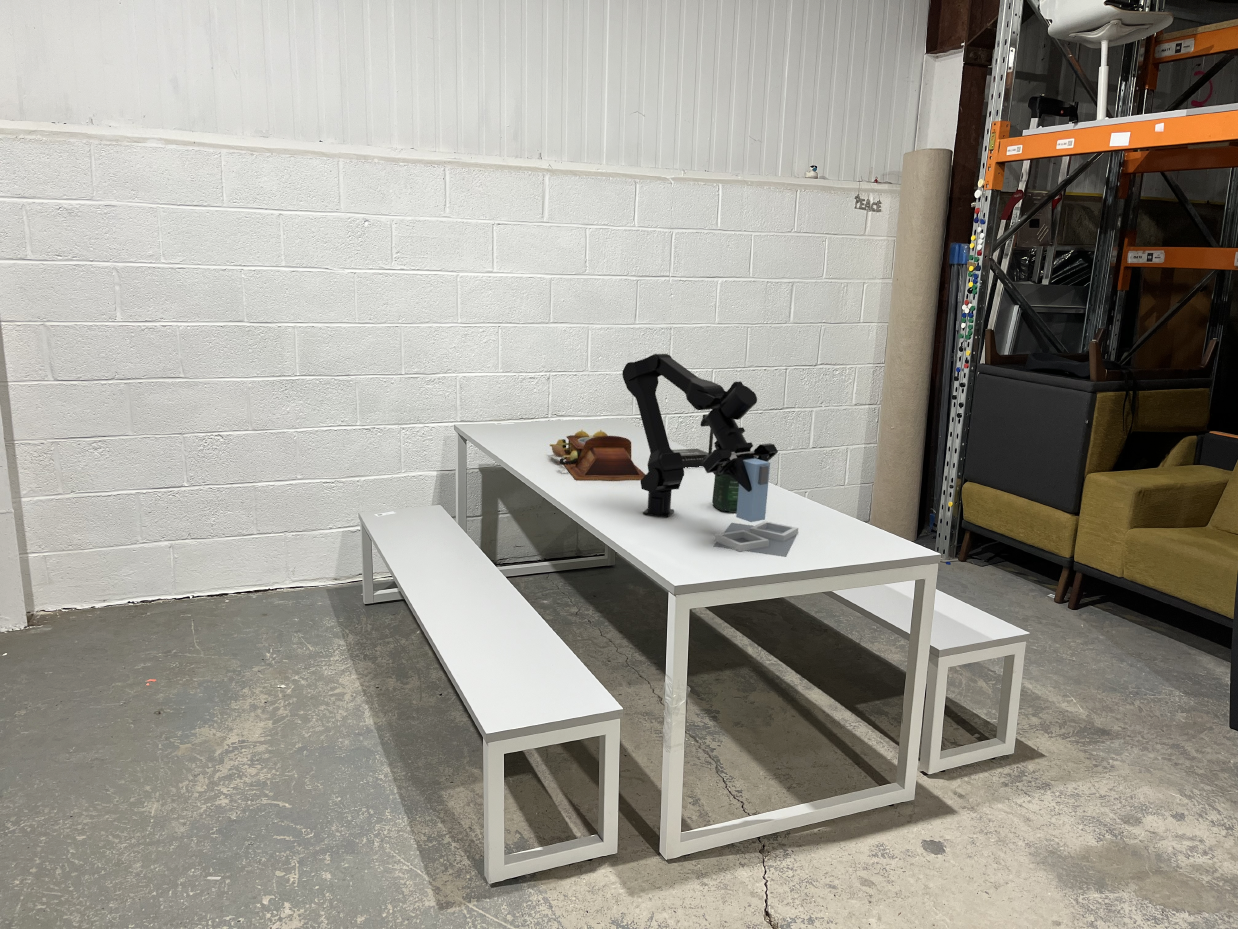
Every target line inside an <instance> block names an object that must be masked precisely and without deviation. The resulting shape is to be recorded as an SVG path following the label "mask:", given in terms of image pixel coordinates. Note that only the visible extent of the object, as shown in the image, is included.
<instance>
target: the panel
mask: <svg viewBox="0 0 1238 929" xmlns="http://www.w3.org/2000/svg"><path fill="white" fill-rule="evenodd" d="M797 535H799V527H796V526H792V525H787V524H782V523H778V522H772V521H767V520H762V522H759V523H758V524H755V525H752V524H751V525H750V524H744V523H737V522H731V523H730V524H729V525H728V526H727V528H726V529H725V530H724V532H723V533H722V532H721V533H715V534H714V541H713V542H715V543H714V544H713V545H712V546H713V547H715V548H720V549H721V548H722V549H729V550H735V551H737V552H749V553H756V554H763V555H770V556H777V557H783V558H786V557H787V556H788V554H789V552H790V550H791V548H792V546H793V544H794V542H795V540H796V538H797Z"/></svg>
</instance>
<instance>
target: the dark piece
mask: <svg viewBox="0 0 1238 929" xmlns="http://www.w3.org/2000/svg"><path fill="white" fill-rule="evenodd" d="M713 439H714V434H713V432H712V430H711V428H710V430H709V439H708V441H709V442H708V451H704V450H701V449H699V448H683V449H682V448H681V449H678V448H677V449H672V451H673V452H674V453H676V452H679V453H680V454H681V458H682V462H683V465H684V466H685V467H695V468H700V467H699V466H703V464H702V459H703V457H706V456H709V455H710V454H711V453H712V452H713V444H714V442H713Z"/></svg>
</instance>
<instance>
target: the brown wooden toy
mask: <svg viewBox="0 0 1238 929" xmlns="http://www.w3.org/2000/svg"><path fill="white" fill-rule="evenodd" d="M566 439H567V440H568V442H567V440H566ZM549 447H551V450H552V453H553V454H554V455H555V456H556V457H560V459H559V463H560V465H562V466H564V468H566V469H567V471H568V472H569V473H570V475H571V476H572V477H573V479H574V480H576V482H577V481H583V482H584V481H588V482H589V481H592V482H593V481H598V482H599V481H601V482H620V481H621V482H623V481H641V479H642V478H643V477H644V476H645V475H646V474H647V473H645V472H644V471H643V470H641V469H640V468H639V467H638V466H637V465H635V463H634V461H633V460H632V441H631V439H629V438H627V437H622V436H618V435H608V434H607V433H606V432H605V431H602V429H600V431H596V432H594V434H593V435H590V434H589V433H587V432H586V431H584V430H583V429H581V430H580V431H579V430H578V431H577V432H576V433H574V435H573V434H572V435H571V434H570V435H567V436H566V438H564V439H562V438H561V439H558V440H557V442H556V443H550V444H549Z"/></svg>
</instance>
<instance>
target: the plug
mask: <svg viewBox="0 0 1238 929" xmlns="http://www.w3.org/2000/svg"><path fill="white" fill-rule="evenodd" d="M743 462H744V465H745V468H746V471H747V474H748V477H749V480H750V483H751V487H752V490H751V491H750V492H748V491H747V490H745V489H744V488H743V487H742V486H741V485H740V484H739V491H738V502H737V512H736V516H735V517H736V518H737V519H741V520H743V521H746V522H748V523H753V522H760V521H766V513H767V504H768V502H767V501H768V492H769V491H768V490H769V482H770V481H769V480H770V470H771V462H770V461H768V462H766V461H763V460H759V459H748V460H743Z"/></svg>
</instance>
